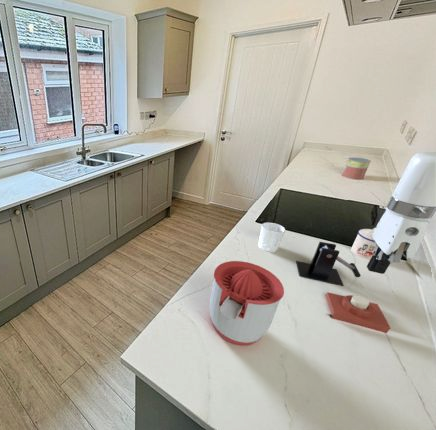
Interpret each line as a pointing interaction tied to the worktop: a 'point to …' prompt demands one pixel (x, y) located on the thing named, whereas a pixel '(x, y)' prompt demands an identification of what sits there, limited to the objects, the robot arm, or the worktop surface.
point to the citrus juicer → (243, 301)
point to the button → (359, 302)
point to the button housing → (357, 313)
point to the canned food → (356, 168)
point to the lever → (346, 264)
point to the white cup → (270, 236)
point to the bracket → (321, 265)
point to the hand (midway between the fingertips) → (374, 270)
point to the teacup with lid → (364, 243)
